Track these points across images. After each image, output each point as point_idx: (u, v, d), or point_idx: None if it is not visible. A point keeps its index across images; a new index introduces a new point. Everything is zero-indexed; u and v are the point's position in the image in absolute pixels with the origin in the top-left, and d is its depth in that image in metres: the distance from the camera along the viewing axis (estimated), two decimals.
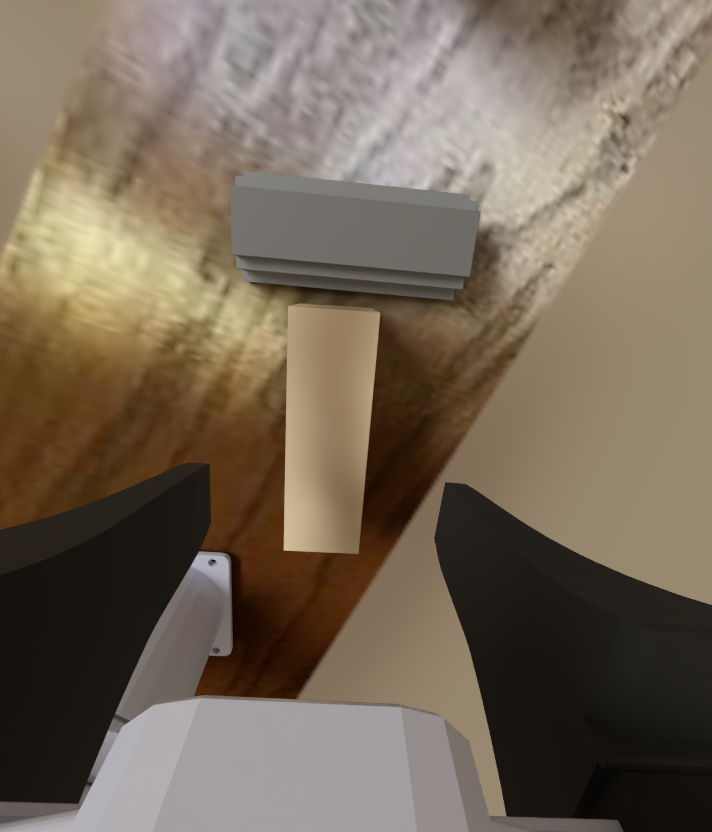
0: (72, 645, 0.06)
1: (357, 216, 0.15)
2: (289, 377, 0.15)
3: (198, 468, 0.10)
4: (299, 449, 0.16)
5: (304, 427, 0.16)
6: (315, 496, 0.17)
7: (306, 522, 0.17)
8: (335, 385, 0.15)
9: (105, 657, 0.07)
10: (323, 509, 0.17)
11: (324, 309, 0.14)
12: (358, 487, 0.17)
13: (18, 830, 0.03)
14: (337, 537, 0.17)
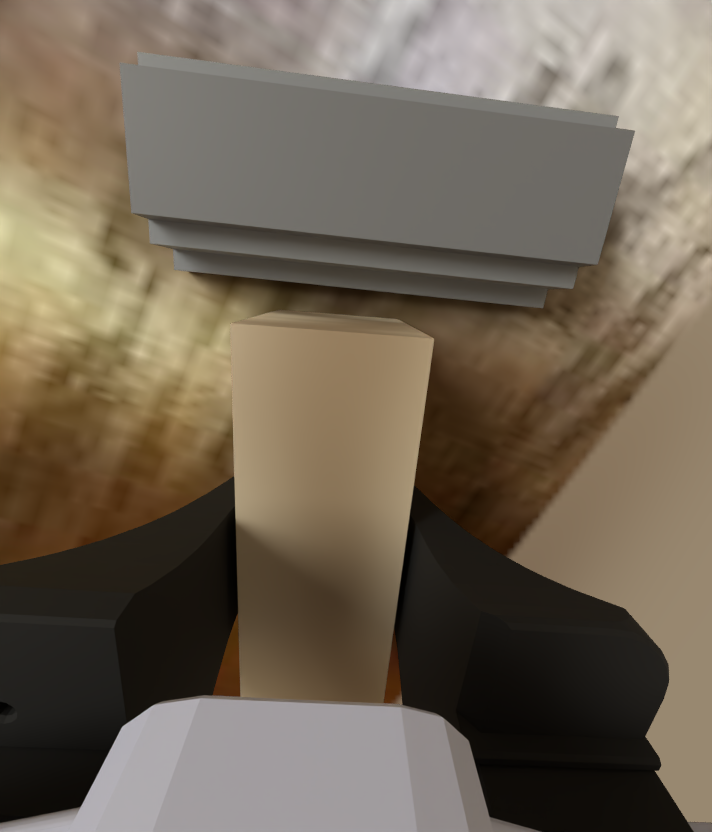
0: (186, 651, 0.06)
1: (384, 137, 0.07)
2: (239, 470, 0.07)
3: None
4: (264, 598, 0.08)
5: (272, 562, 0.08)
6: (296, 673, 0.09)
7: None
8: (335, 485, 0.07)
9: (203, 662, 0.07)
10: (313, 693, 0.09)
11: (311, 330, 0.06)
12: (378, 659, 0.09)
13: (18, 830, 0.03)
14: None
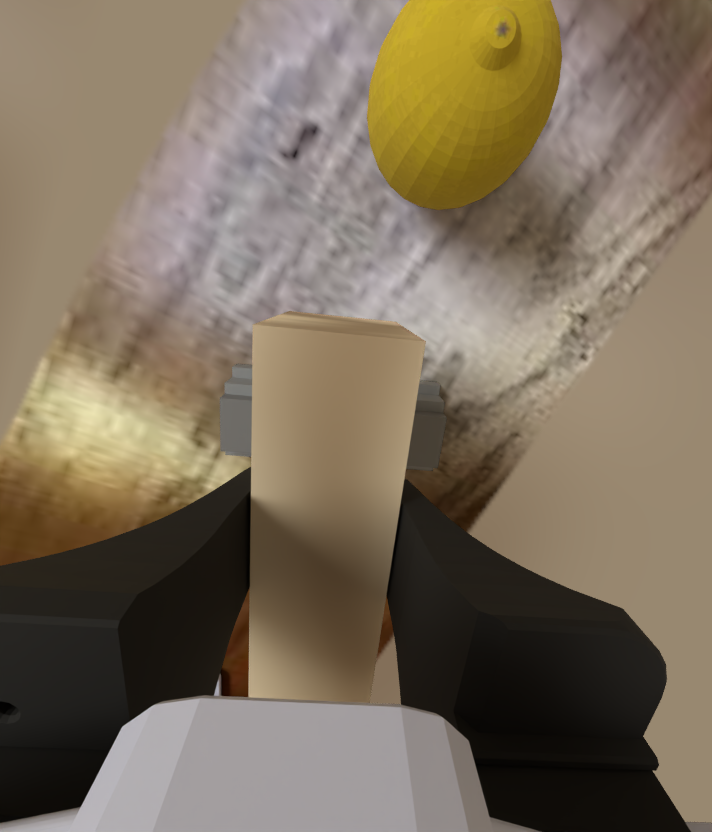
0: (188, 651, 0.06)
1: None
2: (255, 451, 0.08)
3: None
4: (273, 566, 0.09)
5: (281, 533, 0.09)
6: (299, 635, 0.10)
7: (284, 672, 0.10)
8: (338, 465, 0.09)
9: (205, 662, 0.07)
10: (313, 654, 0.10)
11: (321, 332, 0.08)
12: (372, 623, 0.10)
13: (18, 830, 0.03)
14: (335, 693, 0.11)
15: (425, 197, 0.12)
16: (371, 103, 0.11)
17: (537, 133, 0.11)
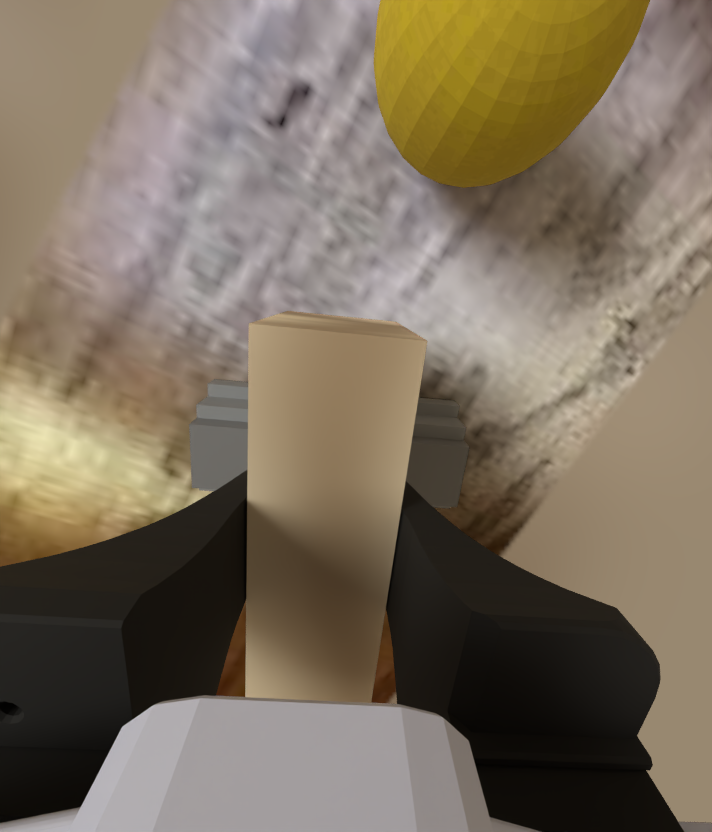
0: (191, 651, 0.06)
1: None
2: (252, 454, 0.08)
3: None
4: (270, 572, 0.09)
5: (279, 538, 0.09)
6: (297, 642, 0.10)
7: (282, 680, 0.10)
8: (336, 469, 0.08)
9: (207, 662, 0.07)
10: (312, 662, 0.10)
11: (319, 331, 0.07)
12: (372, 630, 0.10)
13: (18, 830, 0.03)
14: None
15: (452, 167, 0.09)
16: (380, 33, 0.08)
17: (616, 69, 0.07)
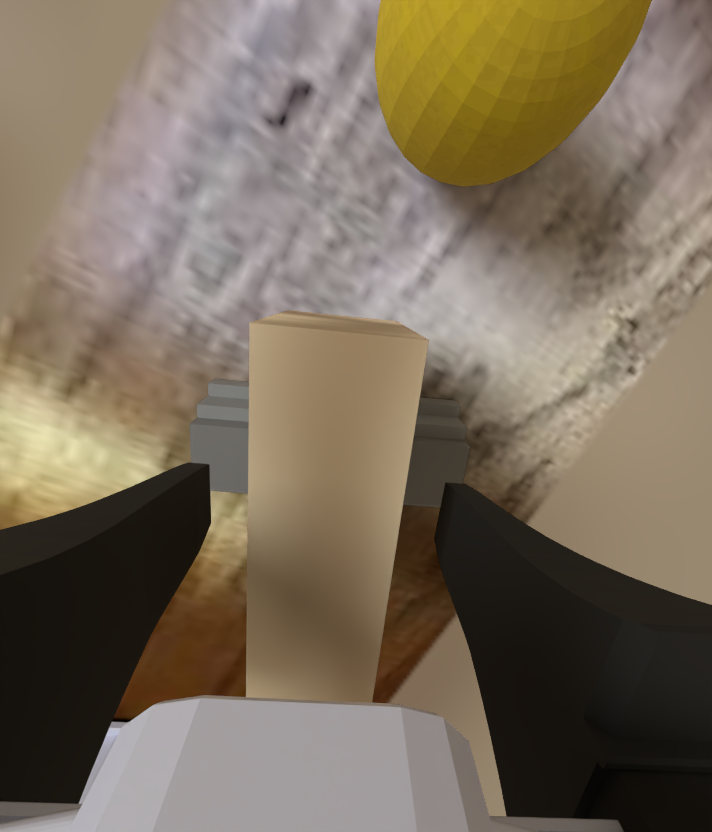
0: (72, 645, 0.06)
1: None
2: (253, 453, 0.08)
3: (198, 468, 0.10)
4: (271, 572, 0.09)
5: (280, 538, 0.09)
6: (298, 643, 0.10)
7: (283, 680, 0.10)
8: (337, 468, 0.08)
9: (105, 657, 0.07)
10: (312, 662, 0.10)
11: (320, 331, 0.07)
12: (373, 630, 0.10)
13: (18, 830, 0.03)
14: None
15: (453, 165, 0.09)
16: (381, 31, 0.08)
17: (619, 67, 0.07)
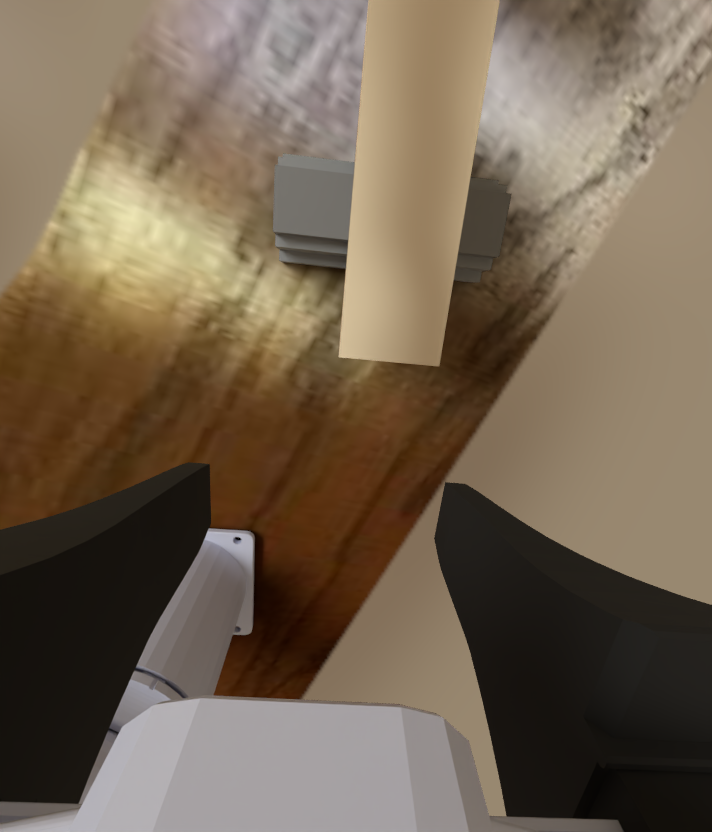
0: (72, 645, 0.06)
1: None
2: (367, 60, 0.10)
3: (198, 468, 0.10)
4: (372, 188, 0.11)
5: (382, 151, 0.11)
6: (388, 269, 0.12)
7: (372, 312, 0.12)
8: (431, 78, 0.11)
9: (105, 657, 0.07)
10: (398, 291, 0.12)
11: None
12: (449, 257, 0.12)
13: (18, 830, 0.03)
14: (413, 339, 0.13)
15: None
16: None
17: None
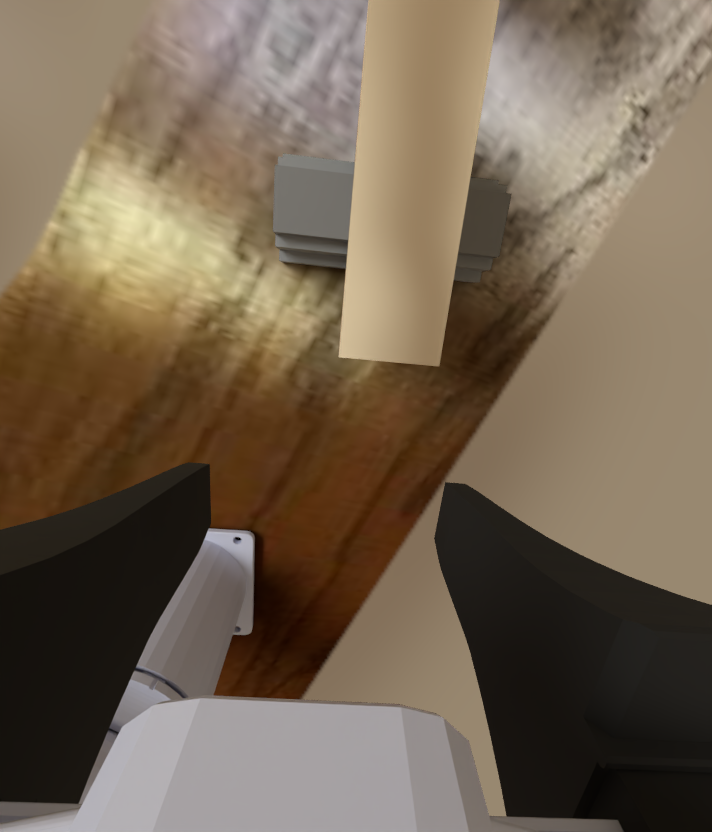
0: (72, 645, 0.06)
1: None
2: (367, 60, 0.10)
3: (198, 468, 0.10)
4: (372, 188, 0.11)
5: (382, 151, 0.11)
6: (388, 269, 0.12)
7: (372, 312, 0.12)
8: (431, 78, 0.11)
9: (105, 657, 0.07)
10: (398, 291, 0.12)
11: None
12: (449, 257, 0.12)
13: (18, 830, 0.03)
14: (413, 339, 0.13)
15: None
16: None
17: None
